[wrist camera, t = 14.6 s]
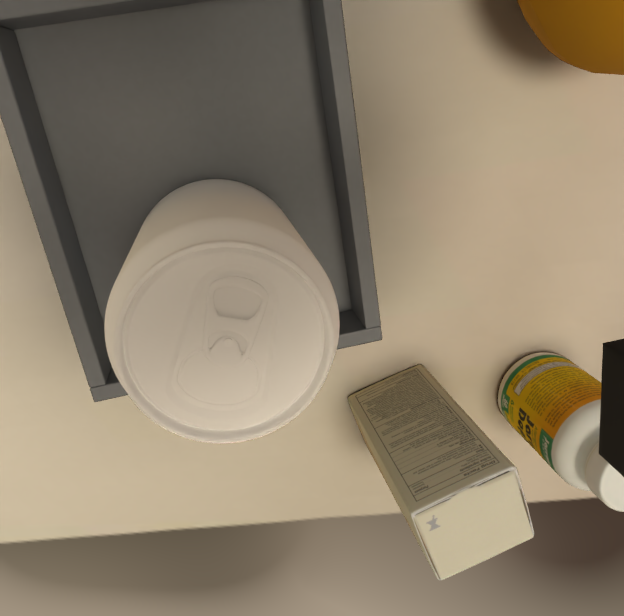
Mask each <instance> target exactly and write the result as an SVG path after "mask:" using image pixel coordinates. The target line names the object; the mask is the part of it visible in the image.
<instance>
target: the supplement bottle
mask: <svg viewBox="0 0 624 616" xmlns="http://www.w3.org/2000/svg"><path fill="white" fill-rule="evenodd" d="M601 384H602V383H601V382H599V381H598V380H596V379H595V378H594V377H592V376H591V375H589V374H588V373H587V372H585V371H584V370H582V369H581V368H579V367H578V366H577V365H575V364H574V363H572V362H571V361H570V360H568V359H566V358H565V357H563V356H561V355H558V354H554V353H547V352H541V353H534V354H531V355H528V356H526V357H524V358H522V359H521V360H519V361H518V362H516V363H515V364H514V365H513V366H512V367H511V368H510V369H509V370H508V371H507V373H506V374H505V376H504V378H503V380H502V382H501V384H500V388H499V393H498V404H499V408H500V410H501V412H502V414H503V416H504V417H505V419H506V420H507V421H508V422H509V423H510V424H511V425H512V426H513V427H514V428H515V429H516V431H517V432H518V433H519V434H520V435H521V436H522V437H523V438H524V439H525V440H526V441H527V442H528V443H529V444H530V446H532V447H533V448H534V449H535V450H536V451H537V452H538V454H539V455H540V456H541V457H542V458H543V459H544V460H545V461H546V462H547V463H548V464H549V465H550V467H551V468H552V469H553V470H554V471H555V472H556V473H557V474H558V475H559V476H560V477H561V478H562V479H563V480H564V481H565V482H567V483H568V484H570V485H571V486H573V487H575V488H578V489H581V490H585V491H592V492H593V493H594V494H595V495H596V496H597V497H598V498H599V499H600V500H601V501H603V502H604V503H605V504H606V505H607V506H608V507H610V508H612V509H614V510H617V511H623V512H624V477H623V476H622V475H621V474H620V473H619V472H618V471H617V470H616V469H615V468H613V467H612V466H611V465H610V464H609V463H608V462H607V461H606V460H605V459H604V458H603V457H602V456H600V455H599V431H600V408H601Z"/></svg>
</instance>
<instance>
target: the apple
mask: <svg viewBox="0 0 624 616" xmlns="http://www.w3.org/2000/svg"><path fill="white" fill-rule="evenodd" d="M517 1H518V3H519V6H520V8H521V10H522V13H523V15H524V18H525V19H526V21H527V22H528V24H529V25H530V27H531V28H532V30H533V31H534V33H535V34H536V36H537V37H538V39H539V40H540V41H541V42H542V43H543V45H544V46H545V47H546V48H547V49H548V50H549V51H550V52H551V53H553V54H554V55H555V56H556V57H558V58H559V59H560V60H562V61H564V62H566V63H568V64H571V65H573V66H575V67H578V68H581V69H584V70H587V71H590V72H593V73H605V74H619V75H624V0H517Z"/></svg>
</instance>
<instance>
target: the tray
mask: <svg viewBox="0 0 624 616" xmlns="http://www.w3.org/2000/svg"><path fill="white" fill-rule="evenodd" d="M0 116H1V119H2V122H3V125H4V128H5V131H6V134H7V137H8V140H9V143H10V146H11V149H12V152H13V155H14V158H15V161H16V164H17V167H18V170H19V174H20V177H21V180H22V183H23V186H24V189H25V192H26V195H27V198H28V201H29V204H30V207H31V210H32V213H33V216H34V219H35V222H36V225H37V228H38V231H39V235H40V238H41V241H42V244H43V247H44V250H45V253H46V256H47V259H48V262H49V265H50V268H51V271H52V274H53V277H54V280H55V283H56V286H57V289H58V293H59V296H60V299H61V302H62V305H63V308H64V311H65V314H66V317H67V320H68V323H69V326H70V329H71V332H72V335H73V338H74V341H75V344H76V347H77V350H78V354H79V357H80V360H81V363H82V366H83V369H84V372H85V375H86V378H87V381H88V384H89V387H91V388H90V390H91V393H92V396H93V400H94V402H98V401H102V400H107V399H112V398H116V397H121V396H125V395H128V394H127V392H126V391H125V389H124V388H123V387H122V385H121V384H120V382H119V380H118V378H117V377H116V375H115V373H114V370H113V368H112V366H111V363H110V360H109V357H108V353H107V349H106V343H105V332H104V323H105V312H106V307H107V303H108V299H109V296H110V293H111V290H112V288H113V285H114V283H115V281H116V279H117V277H118V275H119V273H120V270H121V268H122V266H123V264H124V262H125V260H126V258H127V256H128V254H129V252H130V250H131V248H132V245H133V243H134V241H135V239H136V237H137V235H138V233H139V231H140V229H141V227H142V225H143V223H144V221H145V219H146V217H147V216H148V214H149V213H150V211H151V210H152V209H153V208H154V207H155V205H156V204H157V203H158V202H159V201H160V200H161V199H163V198H164V197H165V196H166V195H168V194H169V193H171V192H172V191H174V190H176V189H177V188H179V187H182V186H184V185H186V184H189V183H192V182H196V181H201V180H207V179H225V180H232V181H237V182H240V183H244V184H246V185H249V186H251V187H253V188H255V189H257V190H259V191H261V192H262V193H264V194H265V195H266V196H268V197H269V198H270V199H271V200H273V201H274V202H275V203H276V204H277V205H278V207H279V208H280V209H281V210H282V211H283V213H284V214H285V215H286V217H287V218H288V219H289V221H290V222H291V224H292V225H293V227H294V228H295V229H296V231H297V232H298V234H299V235H300V236H301V238H302V239H303V241H304V242H305V243H306V245H307V246H308V248H309V249H310V250H311V252H312V253H313V255H314V256H315V258H316V259H317V260H318V262H319V263H320V265H321V266H322V268H323V269H324V271H325V273H326V274H327V276H328V278H329V280H330V282H331V284H332V287H333V290H334V293H335V296H336V299H337V304H338V310H339V321H340V327H339V339H338V345H337V349H342V348H346V347H351V346H356V345H360V344H365V343H369V342H374V341H379V340H382V332H381V322H380V314H379V306H378V298H377V290H376V282H375V273H374V265H373V257H372V249H371V241H370V232H369V224H368V216H367V208H366V200H365V191H364V183H363V175H362V167H361V159H360V150H359V142H358V134H357V126H356V118H355V110H354V101H353V93H352V85H351V77H350V69H349V60H348V52H347V44H346V36H345V28H344V19H343V11H342V3H341V0H0Z"/></svg>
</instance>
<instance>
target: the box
mask: <svg viewBox="0 0 624 616" xmlns="http://www.w3.org/2000/svg"><path fill="white" fill-rule="evenodd" d="M348 401H349V404H350V407H351V409H352V412H353V415H354V417H355V420H356V422H357V425H358V427H359V429H360V432H361V434H362V436H363V438H364V441H365V443H366V445H367V447H368V449H369V451H370V453H371V455H372V456H373V458H374V460H375V462H376V464H377V466H378V468H379V470H380V472H381V473H382V475H383V477H384V479H385V481H386V483H387V485H388V487H389V488H390V490H391V492H392V494H393V496H394V498H395V500H396V502H397V504H398V506H399V507H400V509H401V511H402V513H403V515H404V517H405V519H406V521H407V522H408V525H409V526H410V528H411V530H412V532H413V534H414V536H415V538H416V540H417V541H418V544H419V545H420V547H421V549H422V551H423V553H424V555H425V557H426V558H427V560H428V562H429V564H430V566H431V568H432V570H433V572H434V573H435V575H436V577H437V579H439V580H444V579H446V578H448V577H450V576H452V575H454V574H457V573H459V572H461V571H464V570H466V569H468V568H470V567H472V566H474V565H477V564H478V563H480V562H483V561H485V560H487V559H489V558H491V557H493V556H495V555H498V554H500V553H502V552H504V551H506V550H508V549H510V548H512V547H514V546H516V545H518V544H520V543H523V542H525V541H527V540H529V539H531V538H532V537H534V530H533V526H532V522H531V518H530V514H529V510H528V506H527V502H526V499H525V495H524V492H523V487H522V484H521V481H520V477H519V474H518V470H517V468H516V467H515V466H514V465H513V464H512V463H511V462H510V461H509V460H508V458H507V457H506V456H505V455H504V454H503V453H502V452H501V451H500V450H499V449H498V448H497V447H496V446H495V444H494V443H493V442H492V441H491V440H490V439H489V438H488V437H487V436H486V435H485V433H484V432H483V431H482V430H481V429H480V428H479V427H478V426H477V425H476V424H475V422H474V421H473V420H472V419H471V418H470V417H469V416H468V415H467V414H466V413H465V411H464V410H463V409H462V408H461V407H460V406H459V405H458V404H457V403H456V402H455V401H454V400H453V398H452V397H451V396H450V395H449V394H448V393H447V392H446V391H445V389H444V388H443V387H442V386H441V385H440V384H439V383H438V382H437V380H436V379H435V378H434V377H433V376H432V375H431V374H430V373H429V372H428V370H427V369H426V368H425V367H424V366H423V365H417V366H414V367H412V368H409V369H407V370H405V371H402V372H400V373H397V374H395V375H393V376H391V377H389V378H387V379H385V380H382V381H380V382H378V383H376V384H373V385H371V386H369V387H367V388H365V389H363V390H361V391H359V392H357V393H355V394H353V395H350V396H349V397H348Z"/></svg>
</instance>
